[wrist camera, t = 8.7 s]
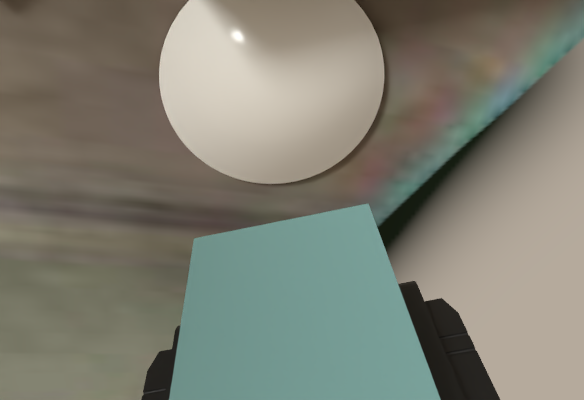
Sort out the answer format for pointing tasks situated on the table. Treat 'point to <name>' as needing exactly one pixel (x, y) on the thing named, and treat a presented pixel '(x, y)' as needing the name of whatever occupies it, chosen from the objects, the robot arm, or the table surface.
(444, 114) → the table surface
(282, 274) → the teal block
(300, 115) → the ceramic coaster
